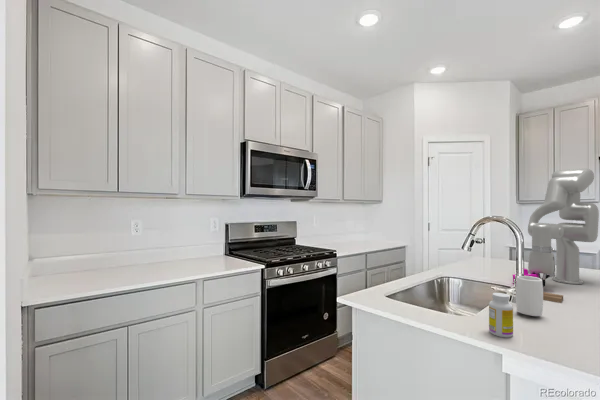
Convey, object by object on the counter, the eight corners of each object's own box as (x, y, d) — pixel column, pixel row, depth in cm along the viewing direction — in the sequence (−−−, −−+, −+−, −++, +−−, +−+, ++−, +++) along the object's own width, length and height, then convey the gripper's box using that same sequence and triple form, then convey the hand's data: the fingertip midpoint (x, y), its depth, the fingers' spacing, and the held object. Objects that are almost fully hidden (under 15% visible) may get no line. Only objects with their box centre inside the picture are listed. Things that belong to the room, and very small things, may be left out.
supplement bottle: (515, 334, 103) (515, 294, 103) (510, 340, 99) (510, 299, 99) (492, 328, 108) (492, 290, 108) (486, 333, 104) (486, 294, 104)
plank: (514, 290, 153) (515, 286, 153) (563, 299, 140) (563, 295, 140) (511, 293, 148) (511, 289, 148) (561, 302, 135) (561, 298, 135)
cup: (547, 320, 115) (547, 281, 115) (520, 318, 117) (520, 279, 117) (537, 312, 123) (537, 276, 123) (512, 310, 126) (512, 274, 126)
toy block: (513, 283, 167) (511, 268, 167) (527, 283, 165) (525, 268, 165) (523, 290, 153) (521, 275, 153) (538, 290, 151) (537, 275, 151)
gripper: (562, 250, 152) (562, 289, 152) (524, 247, 163) (524, 282, 163) (559, 252, 147) (559, 292, 147) (521, 248, 158) (521, 285, 158)
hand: (541, 287), depth 155 cm, fingers closed
